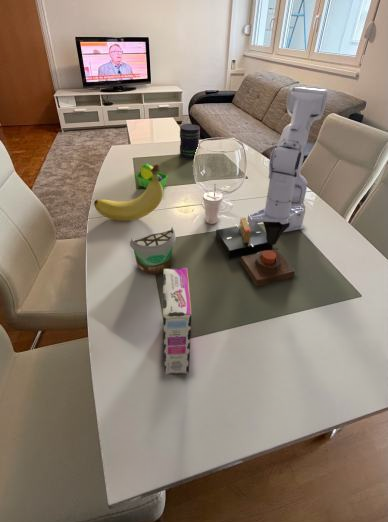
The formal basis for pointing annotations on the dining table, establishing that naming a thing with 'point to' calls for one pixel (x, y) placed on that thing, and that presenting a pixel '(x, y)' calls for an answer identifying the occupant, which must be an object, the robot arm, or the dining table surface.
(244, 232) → the tap lever
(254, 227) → the base
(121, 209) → the banana
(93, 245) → the dining table surface
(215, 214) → the smoothie
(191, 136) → the storage jar
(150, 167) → the fruit basket
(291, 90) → the robot arm
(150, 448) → the dining table surface
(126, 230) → the dining table surface
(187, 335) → the candy bar box
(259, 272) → the block
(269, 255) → the button
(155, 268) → the food container
